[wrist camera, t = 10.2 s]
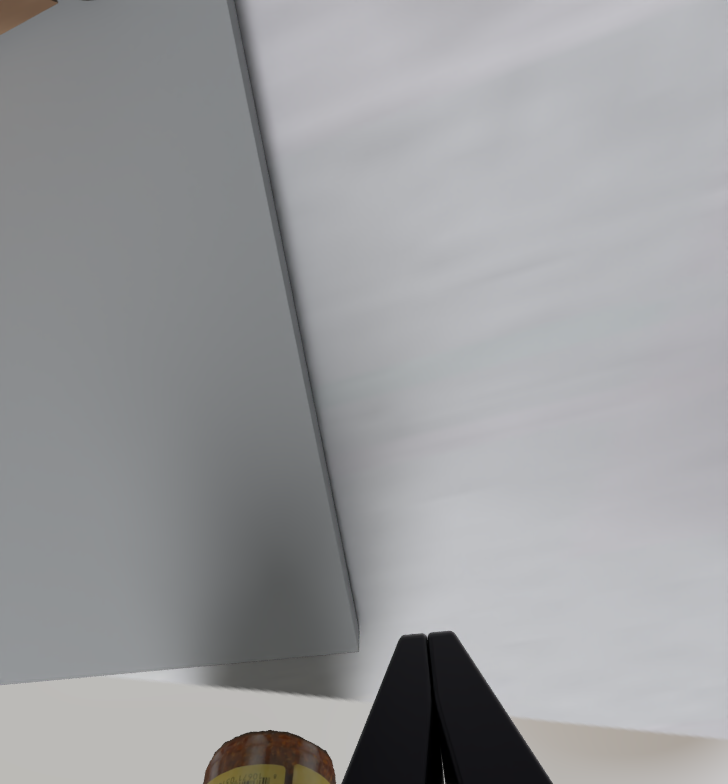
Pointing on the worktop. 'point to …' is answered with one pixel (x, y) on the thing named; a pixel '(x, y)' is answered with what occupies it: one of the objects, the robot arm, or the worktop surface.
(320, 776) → the sauce bottle
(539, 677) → the worktop surface
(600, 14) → the worktop surface
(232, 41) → the gate frame
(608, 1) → the worktop surface
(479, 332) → the worktop surface
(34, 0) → the gate
